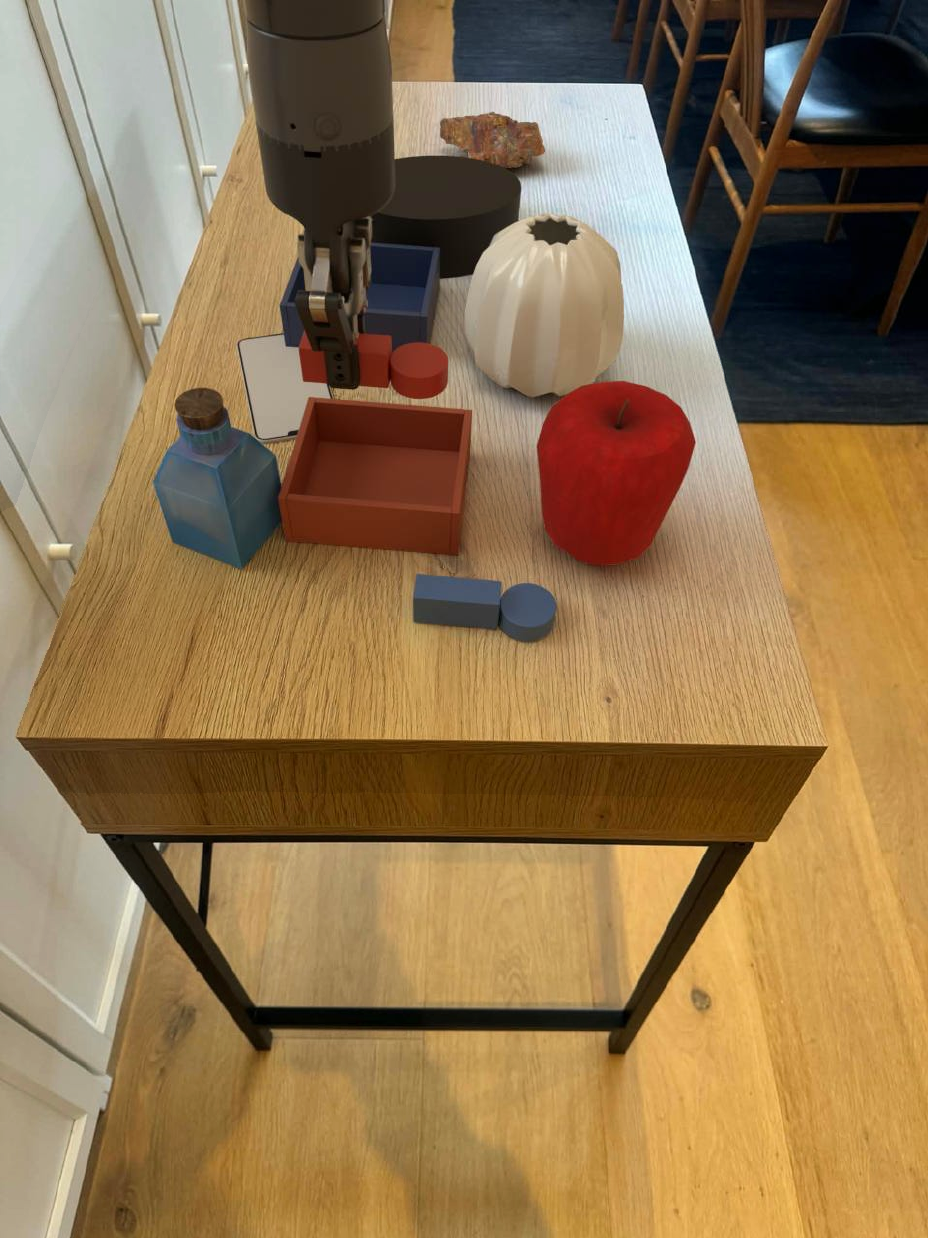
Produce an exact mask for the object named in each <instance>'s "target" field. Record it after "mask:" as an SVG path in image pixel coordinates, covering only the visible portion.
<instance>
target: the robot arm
mask: <svg viewBox="0 0 928 1238" xmlns="http://www.w3.org/2000/svg"><path fill="white" fill-rule="evenodd" d="M242 3H243V10H244V16H245V17H244V18H245V25H246V26H245V27H246V56H247V58H246V60H247V61H246V62H247V69H248V78H249V84H250V93H251V99H252V106H253V112H254V120H255V125H256V126H255V127H256V131H257V132H256V133H257V140H258V147H259V153H260V159H261V161H260V162H261V167H262V172H263V173H262V175H263V182H264V186H265V187H264V188H265V192H266V195H267V197H268V200H269V201H270V202H271V204H272V205H273V206H274V207H275V208H276V209H277V210H279V211H280V212H282V213H283V214H285V215H288V216H289V217H291V218H292V219H294V220H296V221H297V222H298V223H299V224H300V225H302V227H303V233H298V235H297V240H296V248H297V258H298V259H299V264H300V265H301V266H302V268H303V270H304V279H305V290H306V291H302V290H298V291H297V295H296V297H295V305H296V308H297V312H298V314H299V317H300V320H301V322H302V325H303V327H304V330H305V333H306V335H307V338H308V340H309V343H310V346H311V348H312V351H319V352H320V351H324V358H325V367H326V376H327V383H328V385H329V386H330V388H331V389H340V390H351V391H353V390H354V391H355V390H357V389H359V387H360V386H359V384H360V365H359V349H358V340H359V333H360V334H365V320H364V314H360V313H365V312H366V308H368V300H367V299H366V290H369V287H370V284H371V277H370V276H371V271H372V269H371V238H372V233H373V231H372V219H371V215H373V214H375V213H377V212H378V211H380V210H381V209H383V208H384V207H385V206H386V205H387V204H388V203H389V202H390V200H391V199H392V197H393V195H394V192H395V184H396V183H395V159H396V158H395V157H396V156H395V152H396V151H395V129H394V128H395V123H394V121H395V119H394V93H393V92H394V91H393V68H392V56H391V49H390V43H389V42H390V41H389V37H388V29H387V20H386V1H385V0H242Z"/></svg>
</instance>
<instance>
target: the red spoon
mask: <svg viewBox="0 0 928 1238" xmlns="http://www.w3.org/2000/svg"><path fill="white" fill-rule="evenodd" d="M358 349H359V365H360V384H359V387H366V388H378V389H379V388H380V389H389V387H390V385H391V387H392V389H393V390H394V391H395V392H396V393H397V394H399V395H401V396H402V397H405V398H407V399H413V400H426V399H431V398H434V397H437V396H438V395H440V394H441V393H443V392H444V391H445V390H446V388H447V387H448V384H449V356H448V354H447V352H446V351H445V350H444V349H442V348H441V347H440V346H437V345H435V344H432V343H430V344H429V343H422V342H416V343H409V344H405V345H402V346H400V347H398V348H397V349H396V350H394V351H393V353H392V339H391V336H388V335H375V334H360V333H359V340H358ZM299 356H300V363H301V370H302V378H303V382H313V383H326V384H328V383H327V376H326V367H325V358H324V351H320V352H319V351H312V348H311V346H310V343H309V340H308V338H307V335H306V333H305V330H304V333H303V336H302V339H301V342H300V345H299Z"/></svg>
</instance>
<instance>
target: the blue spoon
mask: <svg viewBox="0 0 928 1238" xmlns="http://www.w3.org/2000/svg"><path fill="white" fill-rule="evenodd" d="M502 583H503V582H502V581H501V580H493V579H482V578H481V579H480V578H469V577H457V576H456V577H455V576H446V575H435V574H422V573H417V574H416V575H415V581H414V587H413V595H412V615H413V617H412V619H413V620H412V621H413V623H418V624H427V625H428V624H429V625H438V626H439V625H440V626H452V627H453V626H454V627H462V628H463V627H464V628H473V629H474V628H475V629H487V630H498V629H499V627H500V629H501V630H502V631H503V633H504V634H505V635H507V636H508V637H509V638H510V639H513V640H514V641H518V642H523V643H533V642H538V641H541V640H543V639H544V638H546V637H547V636H549V634H550V633H551V632H552V630H553V628H554V626H555V620H556V614H557V609H558V608H557V607H558V605H557V601H556V598H555V597H554V595H553V594H552V592H551V591H549V590H548V589H547V588H545V587H543V586H541V585H539V584H535V583H530V582H524V583H517V584H515V585H512V586H510V587H508V588H507V589H506V590H505V591H504V592H503V593H502Z"/></svg>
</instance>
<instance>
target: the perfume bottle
mask: <svg viewBox="0 0 928 1238" xmlns="http://www.w3.org/2000/svg"><path fill="white" fill-rule="evenodd" d="M173 405H174V409H175V411H176V413H177V415H176V419H175V421H176V425H177V428H178V432H179V438H178V439H176V441H175V442H173V443H172V444H171V445H170V446H169V447H168V448H167V449H166V451H165V454H164V456H163V458H162V459H161V462H160V464H159V466H158V469H157V471H156V473H155V474H154V478H153V479H152V484H153V486H154V491H155V493H156V496H157V499H158V502H159V506H160V508H161V512H162V515H163V518H164V521H165V523H166V527H167V529H168V533H169V537H170V539H171V543H173V544H176V545H179V546H180V547H184V548H186V549H189V550H191V551H193V552H195V553H196V552H197V553H198V554H201V555H204V556H205V557H209V558H211V559H214V560H217V561H218V562H222V563H224V564H227V565H229V566H231V567H234V568H236V569H239V570H243V569H244V568H245V567H246V565H247V564H248V563H249V562H250V561H251V559H252V558H253V557H254V556H255V555H256V553H258V552H259V550H260V549H261V548H262V546H263V545H264V544H265V542H266V541H267V540H268V539H269V538H271V536H272V534H273V533H274V532H275V531H276V530H277V528H278V527H279V526H280V525H281V524H282V518H281V512H280V507H279V502H278V496H279V493H280V490H281V487H282V482H281V476H280V470H279V466H278V459H277V455H276V454H275V453H273V452H272V450H270V449H269V448H268V447H267V446H265V444H262V443H260V442H259V441H258V440H257V439H256V438H255V437H254V435H252V434H251V433H249V432H247V431H245V430H242V429H238V428H236V427H233V426H232V423H231V419H230V414H229V410H228V409H227V408H226V407H225V406H224V398H223V395H222V394H221V393H220V392H219V391H217V390H215V389H213V388H209V387H195V388H190V389H188V390H185V391H184V392H183V391H182V393H181V394H179V395H178V396H177V397H176V399H175V400H174V404H173Z"/></svg>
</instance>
